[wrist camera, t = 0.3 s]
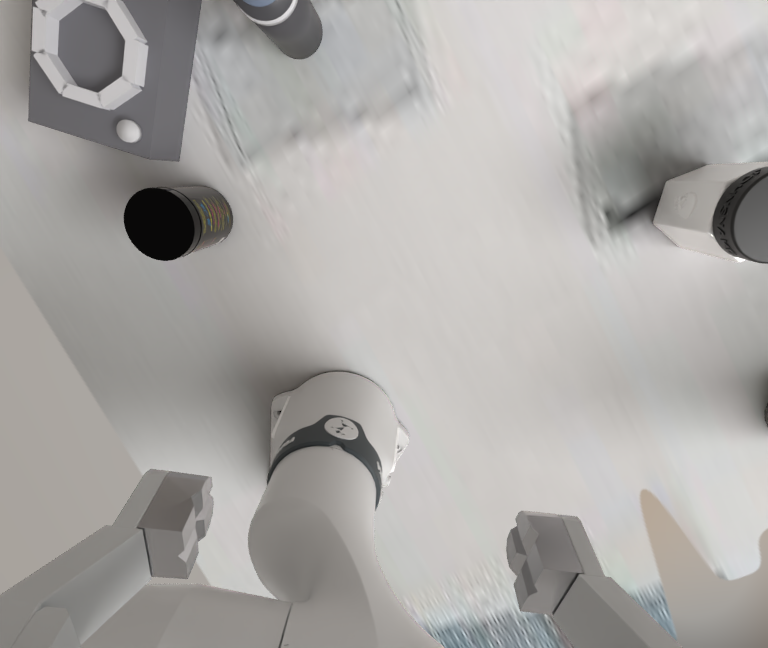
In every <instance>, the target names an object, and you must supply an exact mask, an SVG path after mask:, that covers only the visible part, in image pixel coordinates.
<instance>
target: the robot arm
mask: <svg viewBox="0 0 768 648" xmlns="http://www.w3.org/2000/svg"><path fill="white" fill-rule="evenodd" d="M279 410H281V413H280V412H279ZM408 443H409V433H408V432H407V430H406V429H405V428H404V427H403V426H402V424H401V423H400V422H399V421H398V420H397V418H396V415H395V412H394V409H393V406H392V404H391V402H390V400H389V398H388V397H387V395H386V394H385V393H384V392H383V390H382V389H381V388H380V387H378V386H377V385H376V384H375V383H373V382H372V381H370V380H368V379H367V378H365V377H362V376H360V375H357V374H353V373H348V372H328V373H324V374H320V375H317V376H315V377H313V378H311V379H309V380H308V381H306V382H305V383H303V384H302V385H301V386H300V387H298V388H297V389H295V390H293V391H289V392H285V393H281V394H279V395H277V396H275V397H274V399H273V401H272V405H271V451H270V470H269V474H268V480H267V487H266V490H265V492H264V494H263V496H262V498H261V501H260V503H259V505H258V507H257V510H256V512H255V514H254V516H253V519H252V521H251V524H250V528H249V533H248V548H249V554H250V557H251V561H252V563H253V566H254V568H255V571H256V573H257V575H258V577H259V579H260V581H261V582H262V584H263V585H264V586H265V587H266V589H267V590H268V591H269V592H270V593H271V594H272V595H273V596H275V597H276V598H277V599H278V600H276V599H271V598H267V597H262V596H257V595H252V594H247V593H242V592H237V591H233V590H228V589H223V588H218V587H213V586H208V585H203V584H151V585H146V584H147V583H148V582H149V581H150V580H151V577H166V578H180V579H188V577H189V575H190V572H191V570H192V568H193V565H194V563H195V560H196V558H197V555H198V553H199V552H198V541H200V540H201V539H202V538H203V537H205V536H206V533H207V530H208V528H209V525H210V521H211V517H212V514H213V505H214V504H213V497H212V496H211V495H210V494H209V493H210V491H211V488H212V477H208V476H201V475H194V474H187V473H179V472H172V471H164V470H156V469H150V470H149V471H147V472H146V473H145V474H144V476H143V477H142V479H141V481H140V482H139V484H138V485H137V487H136V489H135V490H134V492H133V493H132V495H131V496H130V498H129V500H128V501H127V503H126V504H125V506H124V508H123V509H122V511H121V513H120V514H119V516H118V517H117V519H116V520H115V522H114V524H113V525H112V526H109V525H106V526H104V527H102V528H101V529H99V530H98V531H96V532H95V533H93V534H92V535H90V536H89V537H87V538H86V539H84V540H83V541H81V542H80V543H78V544H77V545H75V546H74V547H72V548H71V549H69V550H68V551H66V552H64V553H63V554H61V555H60V556H58V557H57V558H55V559H54V560H52V561H51V562H49V563H48V564H46V565H45V566H43V567H42V568H40V569H39V570H37V571H36V572H34V573H33V574H31V575H30V576H29V577H27V578H25V579H24V580H22V581H20V582H19V583H17V584H16V585H14V586H13V587H12V588H10V589H8V590H7V591H5V592H4V593H2V594H1V595H0V648H445V647H443V646H442V645H441V644H440V643H439V642H437V641H436V640H435V639H434V638H433V637H431V636H430V635H429V634H428V633H427V632H426V631H425V630H424V629H423V628H422V627H421V626H420V625H419V624H418V623H417V622H416V621H415V620H414V618H413V617H412V616H411V615H410V614H409V613H408V612H407V610H406V609H405V608H404V606H403V605H402V603H401V602H400V601H399V599H398V598H397V596H396V595H395V593H394V592H393V590H392V588H391V587H390V585H389V583H388V581H387V579H386V578H385V575H384V573H383V571H382V569H381V566H380V564H379V561H378V558H377V554H376V549H375V510H376V508H377V507H378V506H379V504H380V502H381V499H382V496H383V491H382V486H385V487H387V486H388V485H389V483H390V479H391V477H390V476H389V474H390V472H393V471H394V469H395V464H396V462H397V460H398V459H399V457H400V456H401V454H402V453H403V451H404V450H405V448H406V447H407V445H408ZM398 445H399V446H398ZM516 523H517V526H516V527H515V528H513V529H511V530H510V533H509V535H508V538H507V547H506V551H507V559H508V563H509V567H510V569H511V570H512V571H513V572H514V573H515V574H516V575H517V578H516V580H515V583H514V588H515V592H516V596H517V600H518V604H519V608H520V611H523V612H531V613H539V614H547V615H553V619H554V620H555V621H556V623H557V624H558V626H559V627H560V628H561V630H562V631H563V632H564V634H565V635H566V637H567V638H568V639H569V641H570V642H571V643H572V645H573V646H574V648H683V647H682V646H681V645H680V644H679V643H678V642H677V641H676V640H675V639H674V638H673V637H672V636H671V635H670V634H669V633H668V632H666V631H665V630H664V629H663V628H662V627H661V626H660V625H659V624H658V623H657V622H656V621H655V620H654V619H653V618H652V617H651V616H650V615H649V614H648V613H647V612H646V611H645V610H644V609H643V608H642V607H641V606H640V605H639V604H638V603H637V602H636V601H635V600H634V599H633V598H632V597H631V596H630V595H629V594H627V593H626V592H625V591H624V590H623V589H622V588H621V587H620V586H619V585H618V584H617V583H616V582H615V581H614V580H613V579H612V578H611V577H605V575H604V572H603V570H602V568H601V566H600V563H599V561H598V559H597V557H596V554H595V552H594V550H593V548H592V545H591V543H590V541H589V539H588V536H587V534H586V532H585V529H584V527H583V525H582V523H581V521H580V519H579V518H578V517H575V516H566V515H557V514H551V513H541V512H530V511H521V512H519V513H518V515H517V517H516Z"/></svg>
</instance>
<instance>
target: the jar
mask: <svg viewBox="0 0 768 648" xmlns="http://www.w3.org/2000/svg"><path fill="white" fill-rule="evenodd" d="M653 224H654V225H655V226H656V227H657V228H658V229H659V230H661V231H662V232H663V233H664V234H665V235H666V236H667V237H668V238H669V239H671V240H672V241H673V242H674V243H675V244H676V245H677V246H678V247H679V248H682V249H686V250H690V251H694V252H698V253H702V254H706V255H710V256H714V257H718V258H722V259H726V260H729V261H733V262H737V263H740V262H743V261H746V260H749V261H754V262H758V263H767V264H768V162H750V163H727V164H708V165H706V166H703V167H701V168H698V169H696V170H693V171H691V172H688V173H686V174H683V175H680V176H678V177H675V178H673V179H670V180H668V181H666V183H665V186H664V189H663V192H662V196H661V199H660V202H659V205H658V208H657V211H656V214H655V217H654V220H653Z"/></svg>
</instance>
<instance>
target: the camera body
mask: <svg viewBox="0 0 768 648" xmlns="http://www.w3.org/2000/svg"><path fill="white" fill-rule="evenodd" d="M201 1H202V0H32V25H31V56H30V87H29V118H28V121H30V122H33V123H36V124H39V125H42V126H46V127H49V128H52V129H55V130H58V131H61V132H65V133H68V134H71V135H74V136H77V137H81V138H84V139H87V140H90V141H93V142H96V143H100V144H103V145H106V146H109V147H112V148H116V149H119V150H122V151H125V152H128V153H131V154H135V155H138V156H141V157H144V158H147V159H154V160H168V161H179V158H180V151H181V144H182V137H183V130H184V123H185V115H186V108H187V101H188V94H189V87H190V80H191V73H192V65H193V58H194V51H195V44H196V37H197V30H198V22H199V15H200V8H201Z"/></svg>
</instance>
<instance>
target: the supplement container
mask: <svg viewBox="0 0 768 648" xmlns="http://www.w3.org/2000/svg"><path fill="white" fill-rule="evenodd" d="M124 225H125V229H126V232H127V234H128V236H129V238H130V240H131V242H132V243H133V244H134V246H135V247H136V248H137V249H138V250H139V251H141V252H142V253H143V254H145V255H147V256H149V257H151V258H153V259H156V260H162V261H168V260H174V259H177V258H180V257H183V256H186V255H188V254H190V253H193V252H196V251H198V250H201V249H204V248H207V247H210V246H212V245H215V244H218V243H220V242H222V241H223V240H224V239H225V238H226V237H227V236H228V235H229V233H230V231H231V229H232V225H233V215H232V210H231V208H230V205H229V204H228V202H227V200H226V199H225V198H224V197H223V196H222V195H221V194H220V193H219V192H217V191H216V190H214V189H212V188H209V187H205V186H192V187H157V188H147V189H143V190H141V191H139V192H137V193H136V194H134V195H133V196H132V197H131V198H130V200H129V201H128V203H127V205H126V208H125V212H124Z"/></svg>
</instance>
